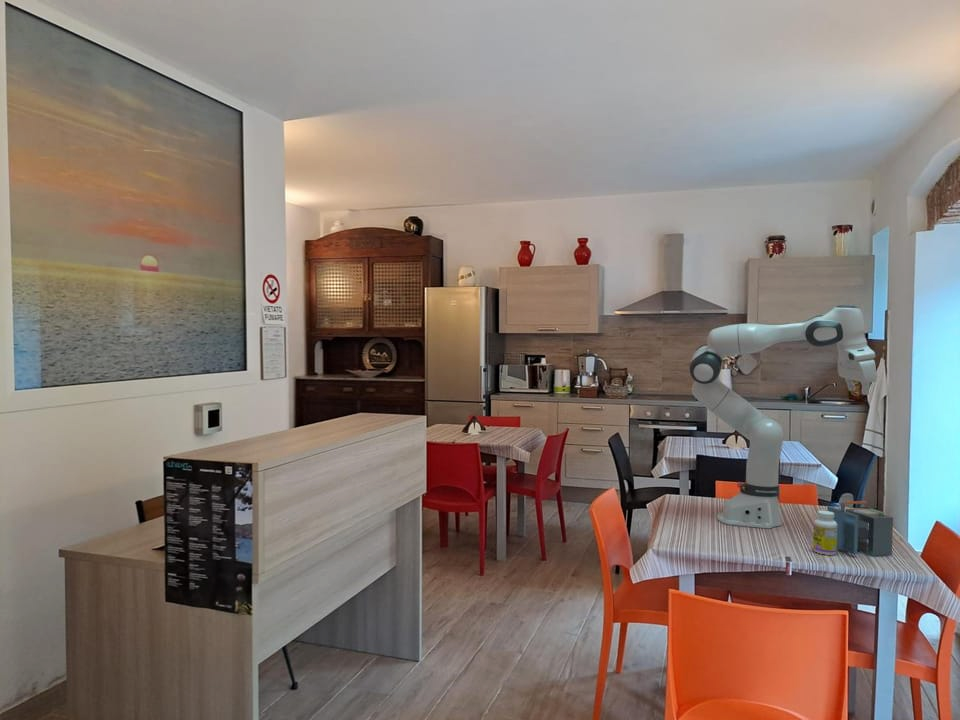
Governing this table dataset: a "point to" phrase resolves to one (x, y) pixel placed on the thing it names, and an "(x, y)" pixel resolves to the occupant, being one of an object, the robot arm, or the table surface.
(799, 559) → the table surface
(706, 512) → the table surface
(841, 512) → the gauge plunger
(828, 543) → the supplement bottle
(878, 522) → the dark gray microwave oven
